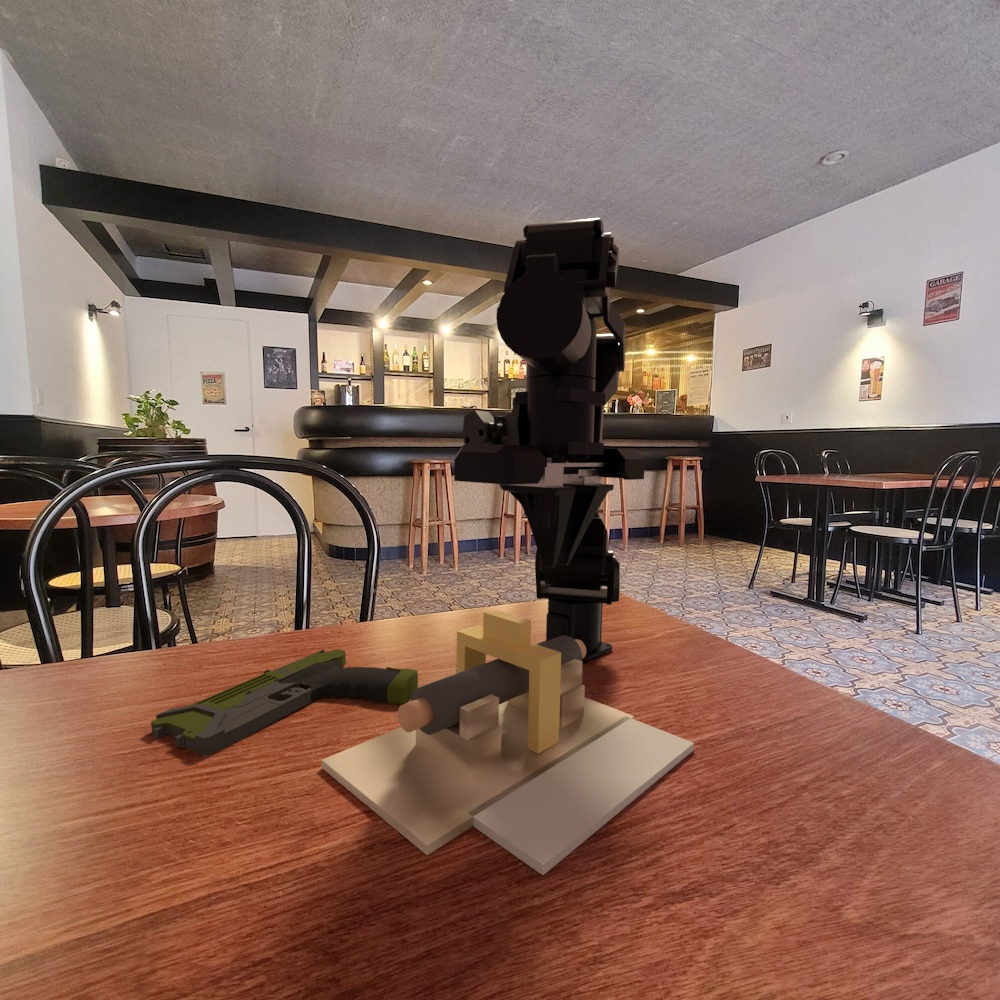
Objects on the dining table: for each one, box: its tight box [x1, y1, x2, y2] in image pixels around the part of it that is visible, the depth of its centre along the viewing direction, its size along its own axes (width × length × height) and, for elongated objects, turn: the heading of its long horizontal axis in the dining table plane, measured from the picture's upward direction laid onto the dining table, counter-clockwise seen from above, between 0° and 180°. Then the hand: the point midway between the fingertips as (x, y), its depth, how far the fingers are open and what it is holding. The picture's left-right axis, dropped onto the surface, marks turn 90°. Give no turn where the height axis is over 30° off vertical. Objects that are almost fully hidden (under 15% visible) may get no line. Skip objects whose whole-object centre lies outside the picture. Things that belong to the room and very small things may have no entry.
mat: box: [470, 718, 695, 876], centre depth 38 cm, size 18×6×1 cm, turn 136°
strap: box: [455, 609, 561, 753], centre depth 44 cm, size 2×9×9 cm, turn 46°
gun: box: [150, 648, 419, 757], centre depth 49 cm, size 2×19×15 cm
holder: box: [321, 659, 635, 856], centre depth 43 cm, size 22×12×5 cm, turn 136°
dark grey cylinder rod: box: [397, 635, 586, 735], centre depth 44 cm, size 19×3×3 cm, turn 136°
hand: (555, 565), depth 47 cm, fingers closed
